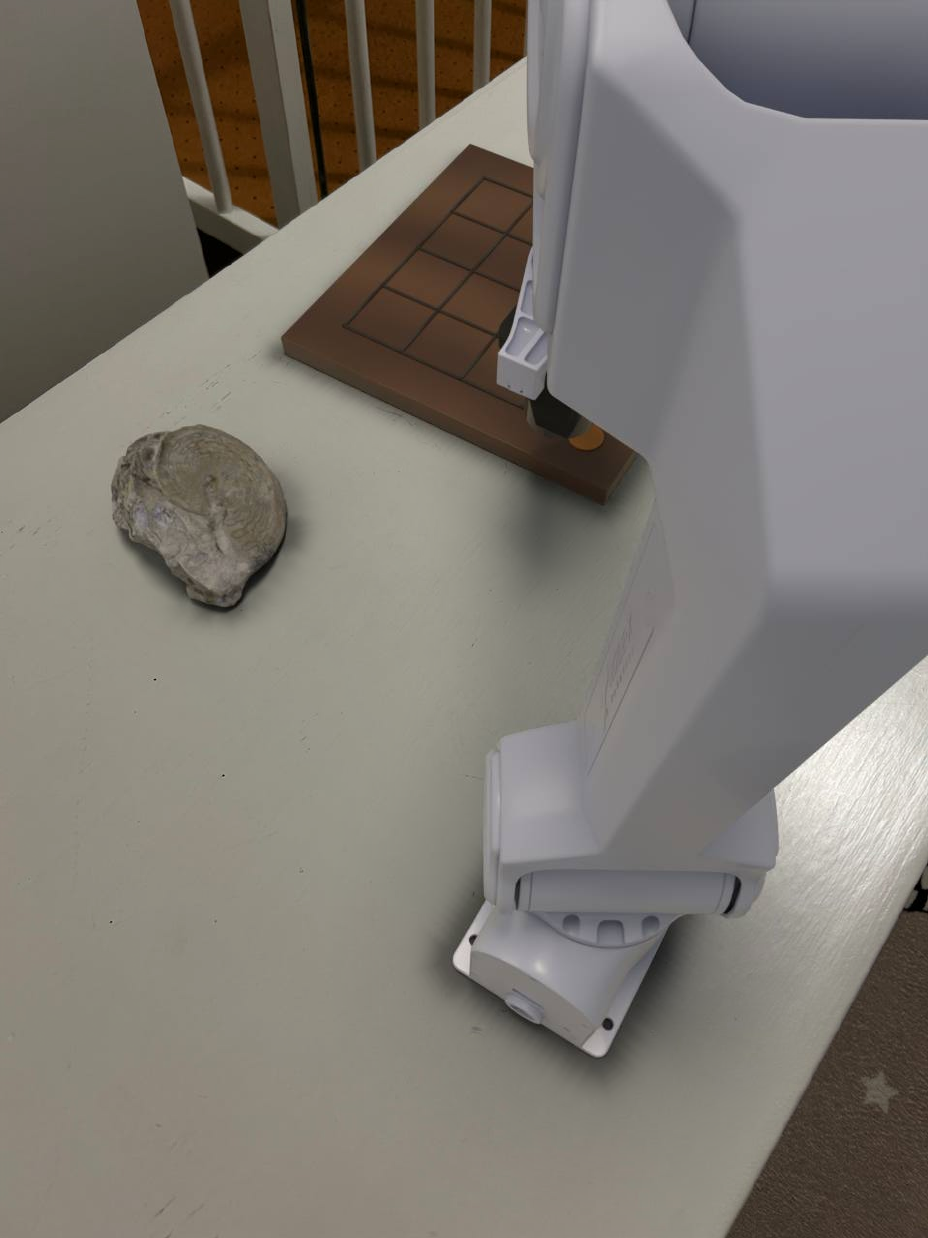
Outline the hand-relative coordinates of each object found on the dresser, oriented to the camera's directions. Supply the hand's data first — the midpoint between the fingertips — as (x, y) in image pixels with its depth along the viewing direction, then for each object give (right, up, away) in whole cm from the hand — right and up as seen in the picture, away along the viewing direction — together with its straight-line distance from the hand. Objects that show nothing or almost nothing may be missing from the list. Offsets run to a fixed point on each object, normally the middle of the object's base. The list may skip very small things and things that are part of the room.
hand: (573, 400), depth 53 cm
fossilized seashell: (-22, -7, +5) cm, 23 cm away
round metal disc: (-1, 0, +1) cm, 2 cm away
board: (-1, +9, +14) cm, 17 cm away
